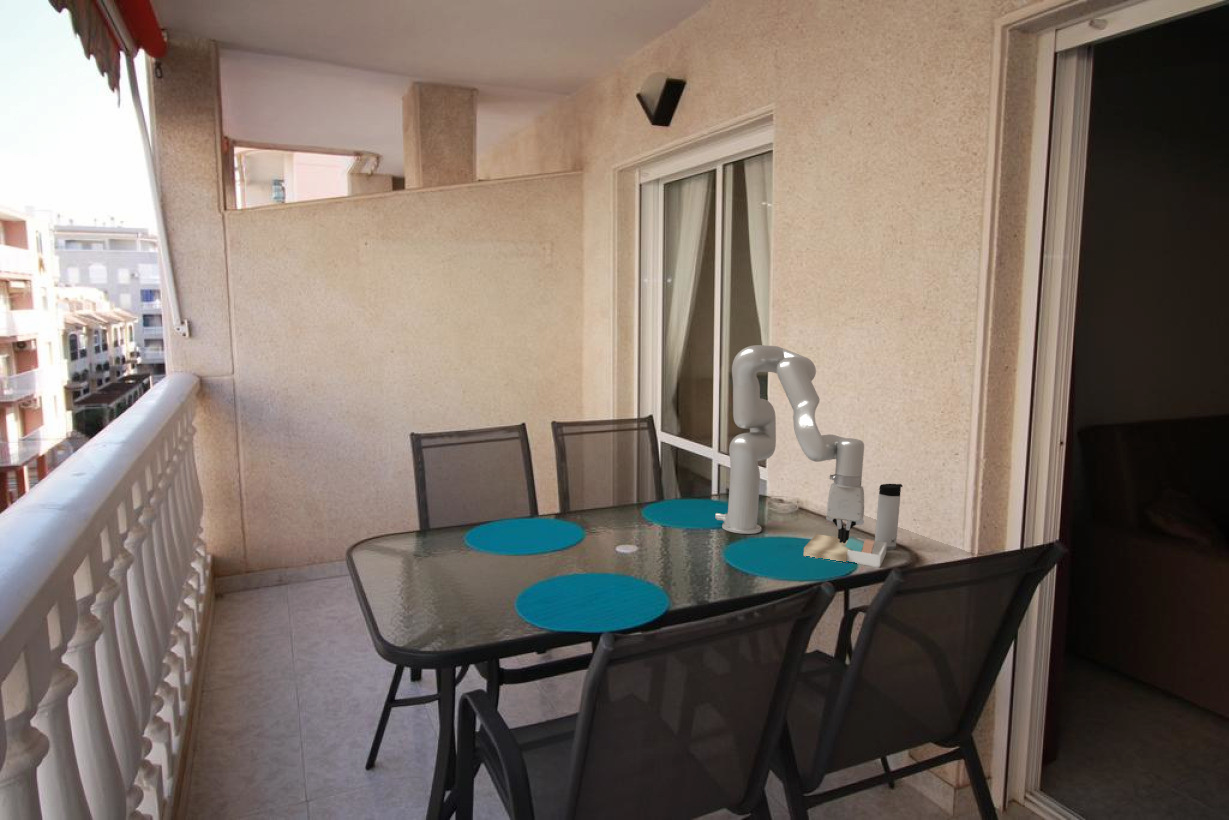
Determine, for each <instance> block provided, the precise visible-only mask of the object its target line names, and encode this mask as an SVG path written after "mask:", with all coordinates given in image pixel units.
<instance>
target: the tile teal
mask: <svg viewBox="0 0 1229 820" xmlns="http://www.w3.org/2000/svg"><path fill="white" fill-rule="evenodd" d="M857 538H858V537H855V536H853V535H849V539H848V541H847V543H846V545H845V547H847V548H849V549H852V550H854V551H858V552H861V551H862V549H863V545H864V542H863V541H861V540H859V539H857Z"/></svg>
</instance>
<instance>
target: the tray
mask: <svg viewBox="0 0 1229 820" xmlns="http://www.w3.org/2000/svg"><path fill="white" fill-rule="evenodd" d="M856 538H857V539H859V540H861V541H863V542H864V541H865V540H866V538H858V537H856ZM874 541H875V540H874ZM886 549H887V543H886V542H879V541H875V544H874V548H873V552H872V554H870V553H864V552H862V551H861V552H858V551H854V550H853V551H852V550H848V551H847V561H849V562H855V563H857V564H856V565H861V566H866V567H872V568H879V569H880V568H881V566H882V564H883V561H884V559H885V557H886V555H887V550H886Z"/></svg>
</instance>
